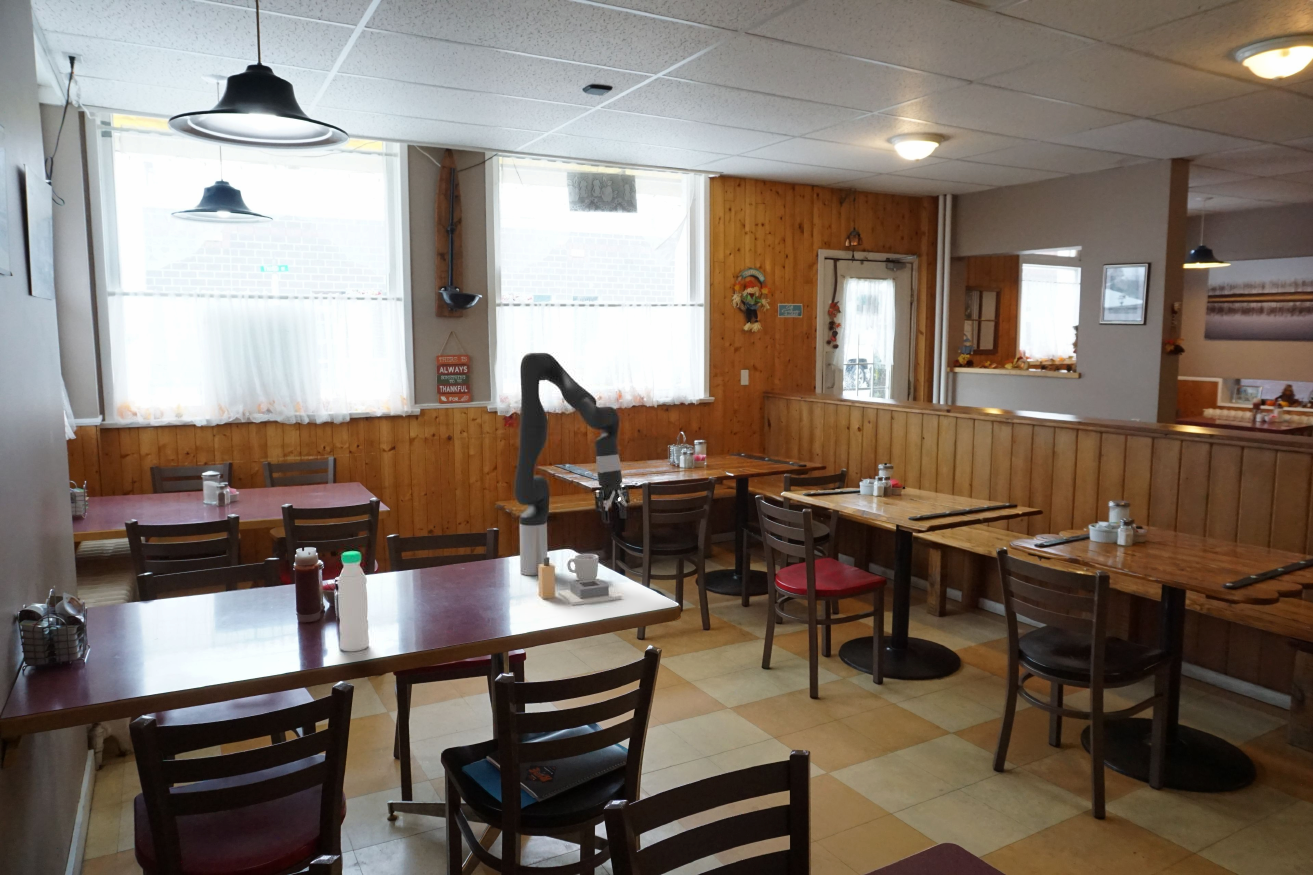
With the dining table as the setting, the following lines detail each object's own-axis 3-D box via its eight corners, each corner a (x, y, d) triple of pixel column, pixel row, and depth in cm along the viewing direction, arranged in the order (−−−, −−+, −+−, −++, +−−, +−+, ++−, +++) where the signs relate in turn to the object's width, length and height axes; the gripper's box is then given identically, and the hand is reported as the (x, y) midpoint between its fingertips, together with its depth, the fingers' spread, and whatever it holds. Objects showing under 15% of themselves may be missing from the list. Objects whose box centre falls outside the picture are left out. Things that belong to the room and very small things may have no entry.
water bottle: (359, 641, 229) (355, 548, 226) (374, 646, 224) (371, 552, 222) (334, 648, 223) (330, 553, 221) (349, 654, 219) (346, 557, 216)
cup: (563, 581, 287) (562, 557, 286) (572, 575, 294) (572, 552, 294) (593, 584, 284) (593, 560, 283) (602, 577, 291) (602, 554, 290)
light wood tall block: (538, 595, 270) (538, 556, 269) (551, 594, 272) (550, 555, 271) (542, 599, 267) (542, 559, 265) (555, 597, 268) (554, 558, 267)
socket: (558, 594, 272) (557, 581, 271) (605, 588, 279) (605, 576, 278) (572, 605, 260) (571, 592, 260) (621, 598, 267) (621, 586, 266)
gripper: (614, 467, 283) (619, 517, 283) (585, 473, 271) (591, 524, 272) (632, 466, 278) (638, 516, 278) (603, 471, 267) (609, 523, 267)
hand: (614, 520), depth 275 cm, fingers open, 8 cm apart
